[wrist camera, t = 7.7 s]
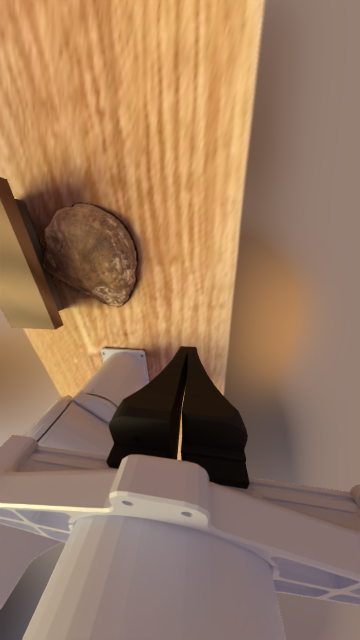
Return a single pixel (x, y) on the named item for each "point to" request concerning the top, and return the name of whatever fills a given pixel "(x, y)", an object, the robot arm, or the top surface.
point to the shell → (92, 253)
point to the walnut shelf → (24, 269)
